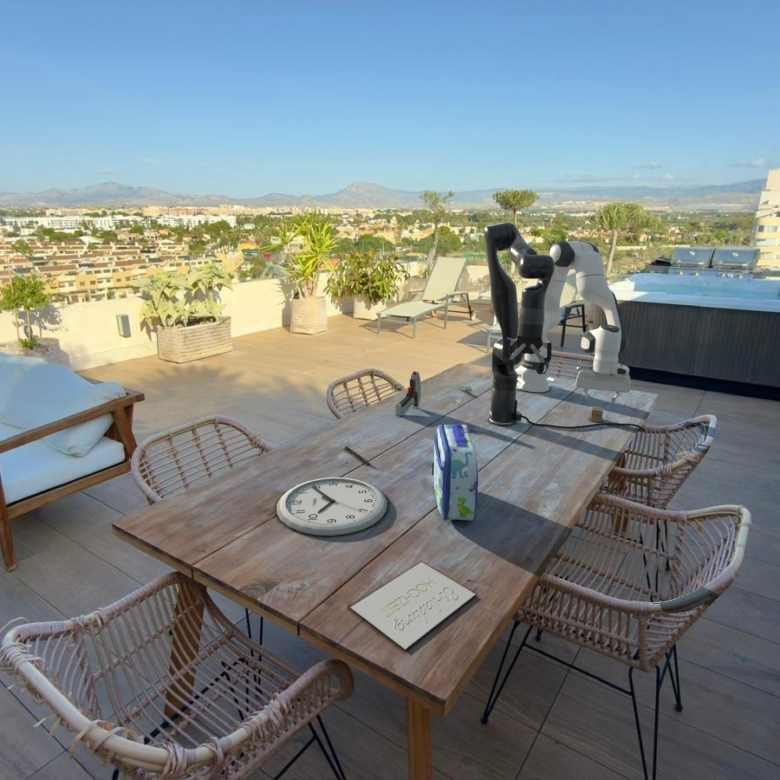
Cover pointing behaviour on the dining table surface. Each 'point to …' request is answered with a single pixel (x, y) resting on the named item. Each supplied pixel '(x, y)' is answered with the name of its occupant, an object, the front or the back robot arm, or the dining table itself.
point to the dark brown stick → (357, 455)
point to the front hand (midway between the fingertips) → (526, 372)
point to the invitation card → (412, 604)
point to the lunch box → (455, 472)
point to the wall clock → (331, 506)
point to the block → (596, 414)
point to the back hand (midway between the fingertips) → (600, 400)
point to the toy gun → (410, 395)
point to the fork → (464, 389)
